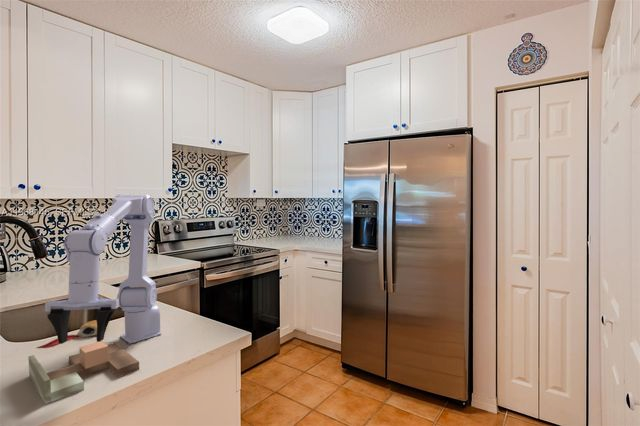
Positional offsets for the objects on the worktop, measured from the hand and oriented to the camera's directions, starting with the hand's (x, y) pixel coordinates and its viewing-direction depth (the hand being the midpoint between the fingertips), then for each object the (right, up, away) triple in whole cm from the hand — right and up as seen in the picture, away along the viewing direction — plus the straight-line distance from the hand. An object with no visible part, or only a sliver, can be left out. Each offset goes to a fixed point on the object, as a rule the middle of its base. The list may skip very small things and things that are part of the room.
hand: (81, 341), depth 79 cm
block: (-2, -8, +8) cm, 12 cm away
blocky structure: (-4, -10, +7) cm, 13 cm away
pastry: (-18, -9, +31) cm, 37 cm away
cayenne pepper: (-23, -10, +24) cm, 34 cm away
